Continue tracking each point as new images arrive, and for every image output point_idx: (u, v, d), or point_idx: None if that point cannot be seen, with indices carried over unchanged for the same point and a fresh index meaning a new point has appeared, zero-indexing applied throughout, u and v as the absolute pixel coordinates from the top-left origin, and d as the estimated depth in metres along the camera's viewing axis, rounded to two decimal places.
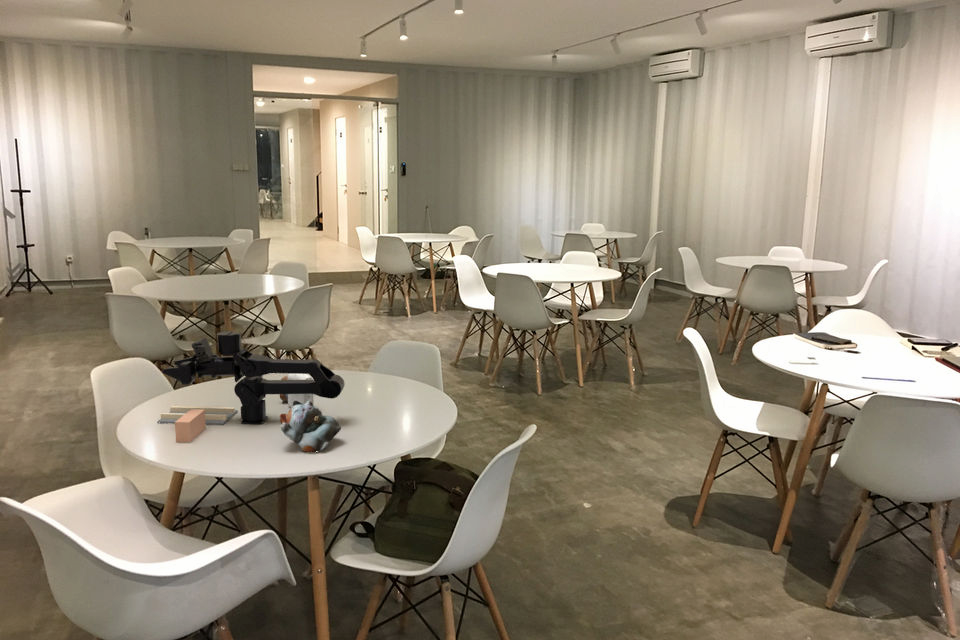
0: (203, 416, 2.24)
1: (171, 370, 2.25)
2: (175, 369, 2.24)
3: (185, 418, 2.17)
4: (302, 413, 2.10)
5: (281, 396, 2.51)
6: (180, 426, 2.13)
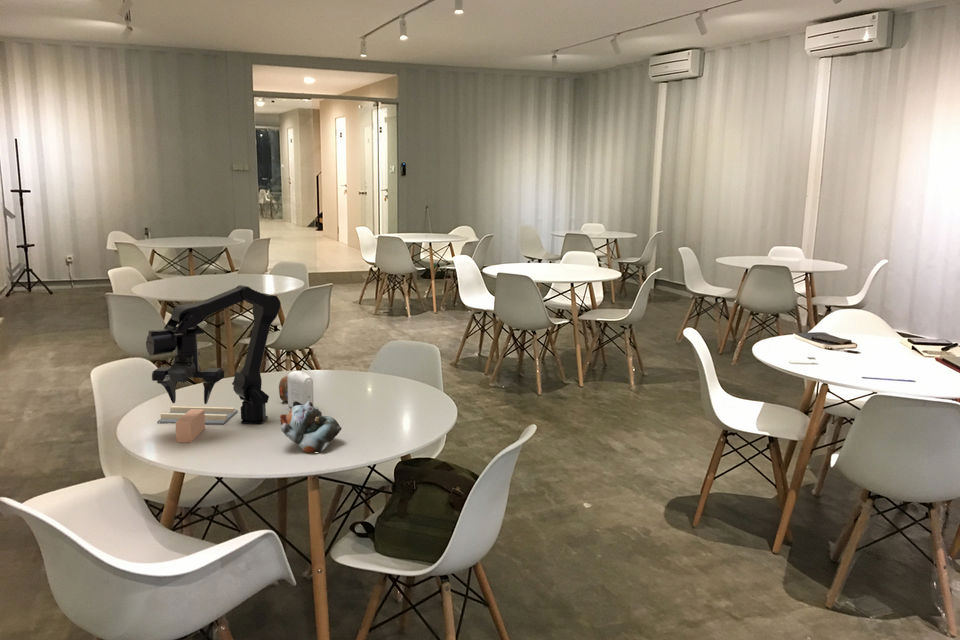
0: (203, 416, 2.24)
1: (208, 393, 2.17)
2: None
3: (185, 418, 2.17)
4: (302, 414, 2.09)
5: (281, 396, 2.51)
6: (181, 426, 2.13)
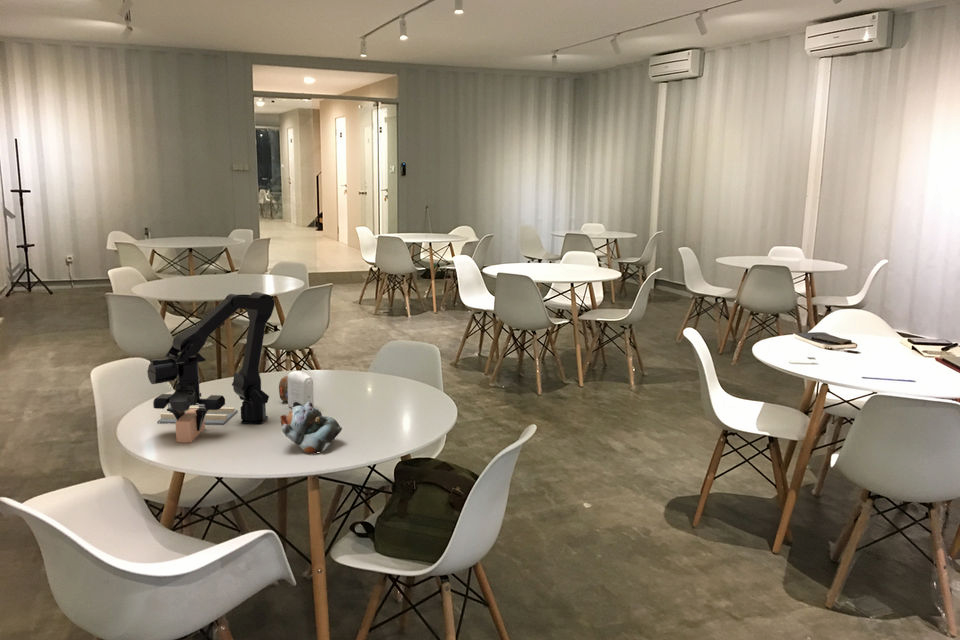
0: None
1: (201, 420, 2.19)
2: None
3: (185, 417, 2.17)
4: (303, 414, 2.09)
5: (281, 396, 2.51)
6: (181, 426, 2.13)
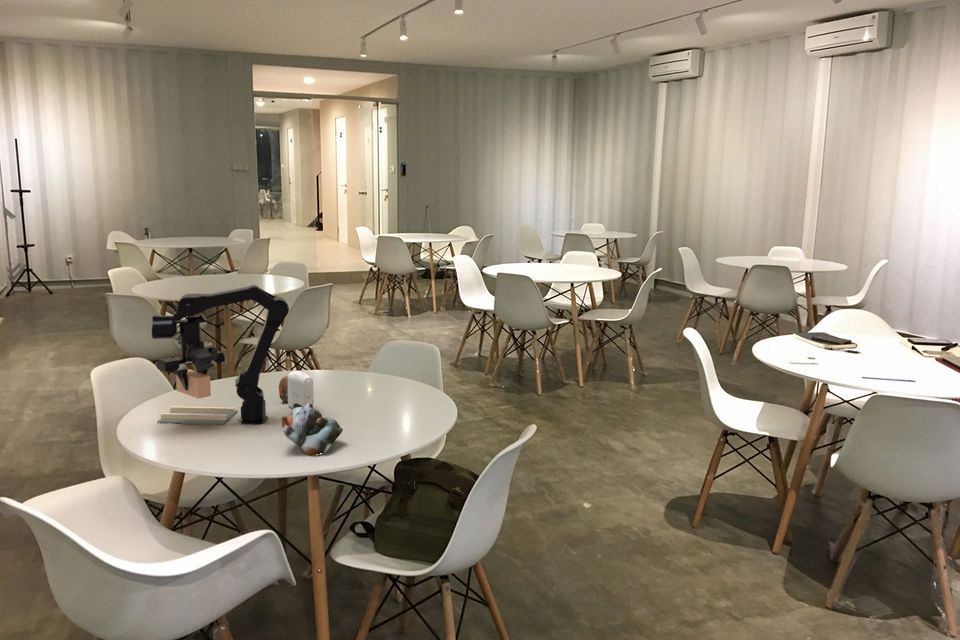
0: None
1: None
2: None
3: (195, 375, 2.24)
4: (304, 415, 2.08)
5: (281, 396, 2.51)
6: (202, 382, 2.22)
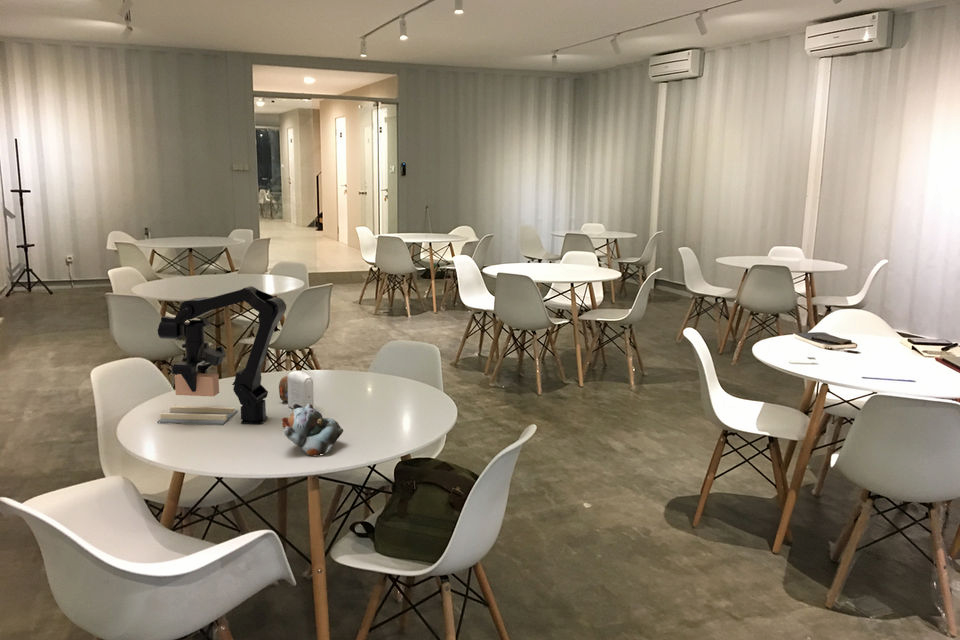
0: None
1: None
2: None
3: (203, 375, 2.33)
4: (305, 416, 2.07)
5: (281, 396, 2.51)
6: (215, 380, 2.33)
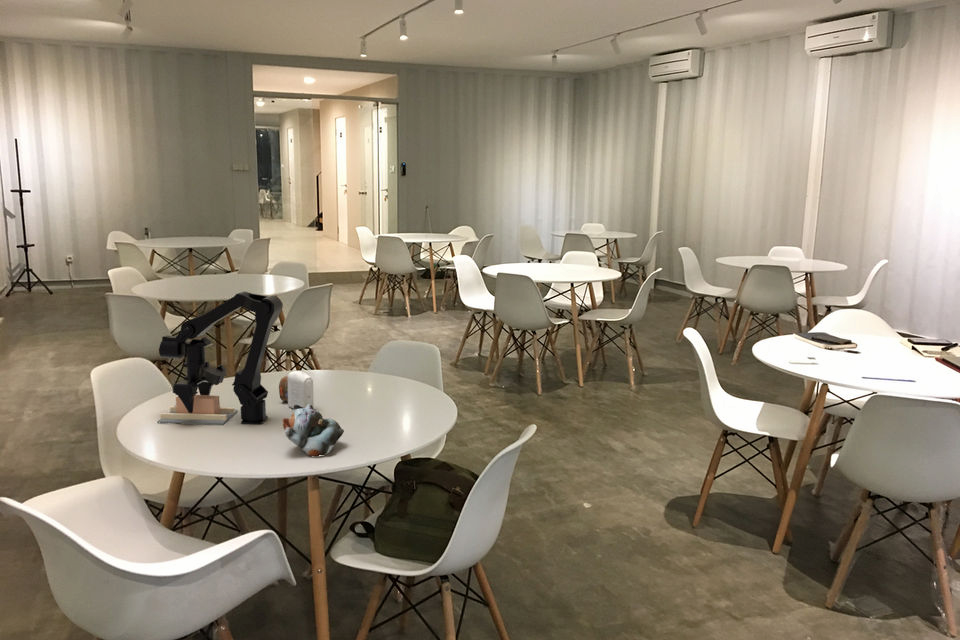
0: None
1: None
2: None
3: (204, 397, 2.34)
4: (305, 417, 2.07)
5: (281, 396, 2.51)
6: (215, 402, 2.34)
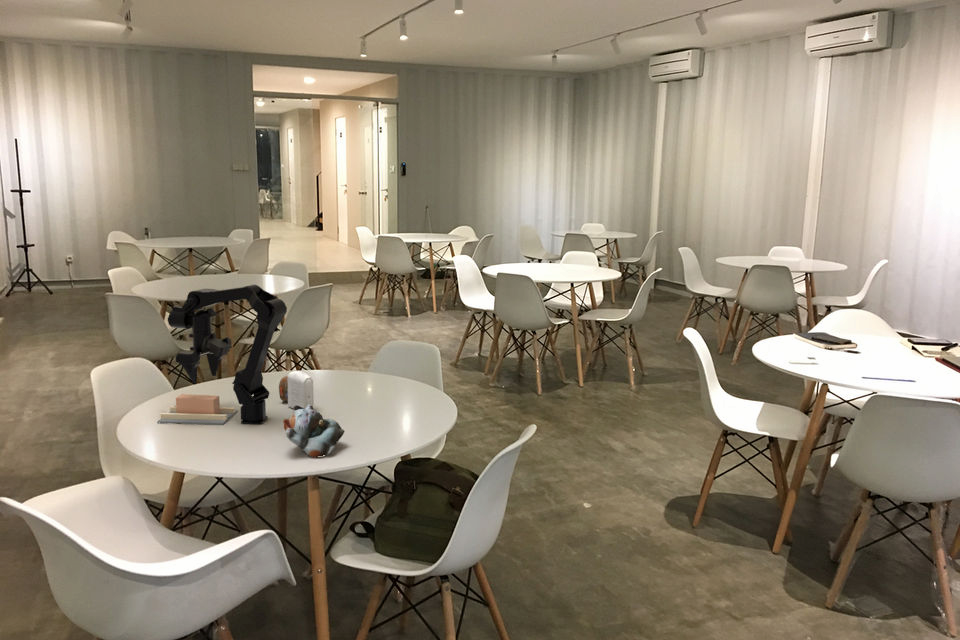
0: None
1: None
2: None
3: (204, 397, 2.34)
4: (306, 417, 2.06)
5: (281, 396, 2.51)
6: (215, 402, 2.34)
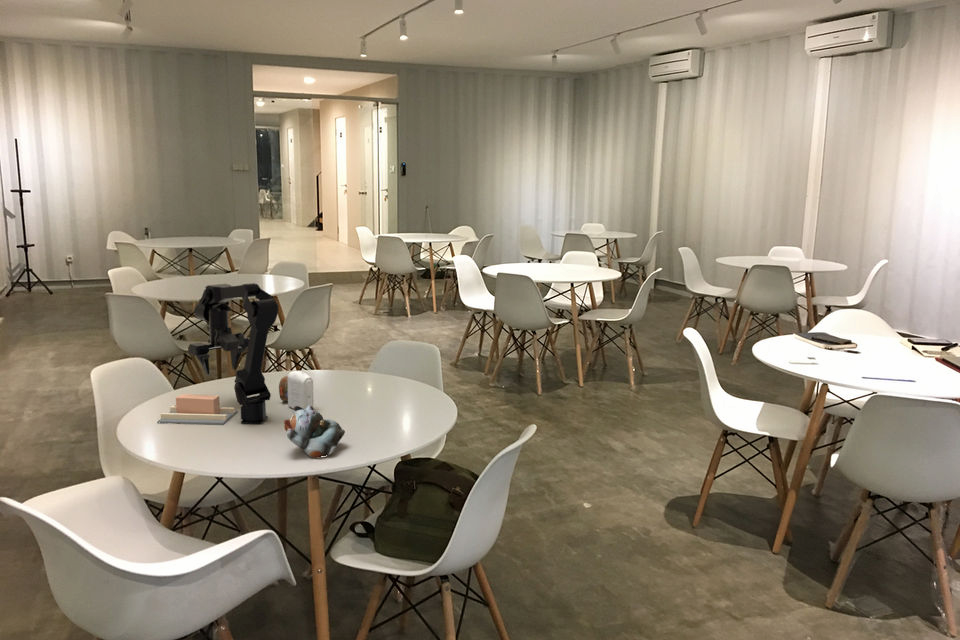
0: None
1: None
2: None
3: (204, 397, 2.34)
4: (307, 418, 2.06)
5: (281, 396, 2.51)
6: (215, 402, 2.34)
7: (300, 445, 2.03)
